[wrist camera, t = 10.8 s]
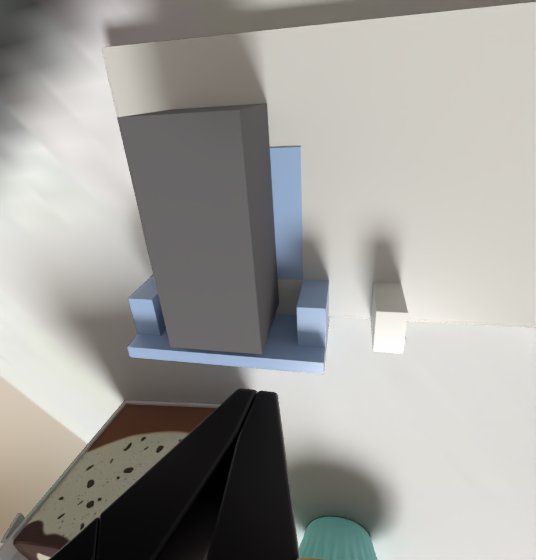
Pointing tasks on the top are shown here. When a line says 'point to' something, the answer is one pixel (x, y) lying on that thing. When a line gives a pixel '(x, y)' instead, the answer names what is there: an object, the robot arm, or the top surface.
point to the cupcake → (336, 541)
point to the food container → (101, 474)
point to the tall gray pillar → (208, 221)
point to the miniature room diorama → (369, 170)
